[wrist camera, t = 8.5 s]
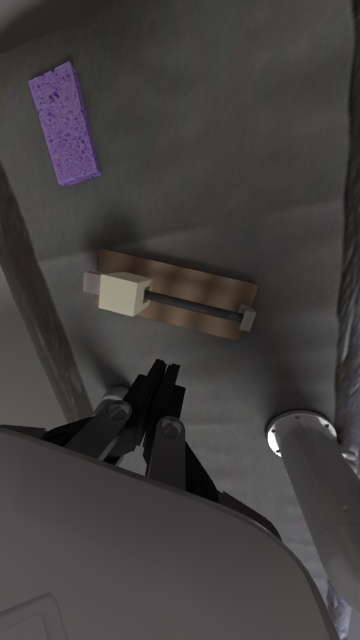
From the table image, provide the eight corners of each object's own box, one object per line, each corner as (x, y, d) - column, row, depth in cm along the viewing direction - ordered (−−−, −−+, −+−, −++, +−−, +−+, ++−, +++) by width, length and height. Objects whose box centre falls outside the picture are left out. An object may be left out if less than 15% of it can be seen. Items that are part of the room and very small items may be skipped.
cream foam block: (153, 278, 29) (137, 283, 23) (148, 305, 31) (133, 316, 24) (124, 271, 29) (100, 274, 23) (121, 298, 31) (98, 307, 25)
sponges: (79, 74, 25) (69, 60, 24) (103, 178, 29) (97, 172, 27) (38, 91, 27) (26, 79, 25) (66, 188, 30) (57, 184, 28)
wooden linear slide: (256, 284, 29) (268, 289, 23) (237, 338, 33) (244, 355, 27) (103, 248, 32) (78, 245, 25) (100, 302, 35) (76, 311, 29)
